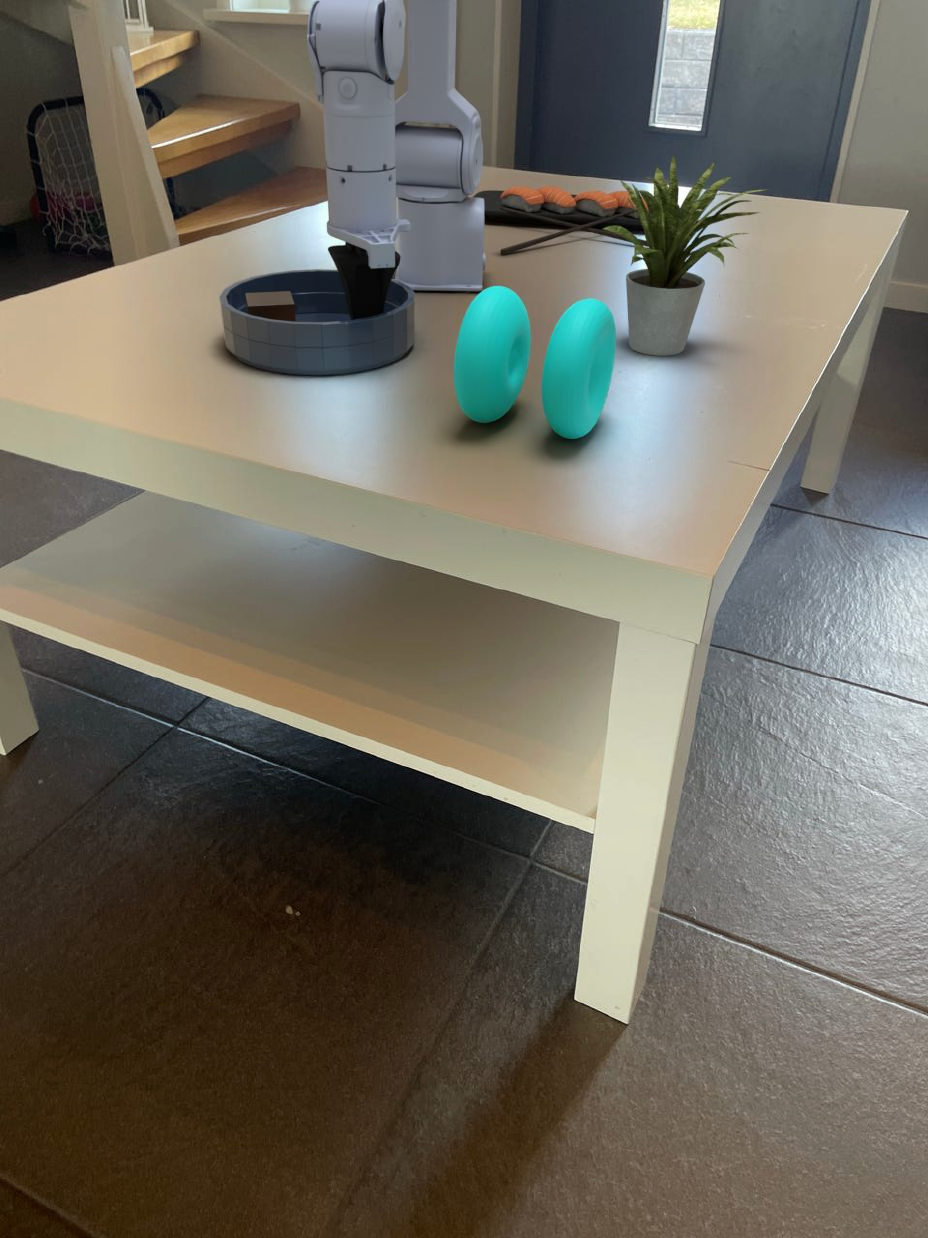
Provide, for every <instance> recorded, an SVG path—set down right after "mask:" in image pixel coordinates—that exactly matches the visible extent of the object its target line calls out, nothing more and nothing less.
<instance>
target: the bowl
mask: <svg viewBox="0 0 928 1238" xmlns="http://www.w3.org/2000/svg"><path fill="white" fill-rule="evenodd" d="M283 291H290V292H291V295H292V298H293V301H294V304H295V316H296V322H292V321H282V320H272V319H267V318H262V317H257V316H252V315H249V314H247V308H246V298H245V293H259V292H283ZM218 299H219V306H220V307H219V308H220V314H221V325H222V331H223V340H224V344H225V347H226V349H227V350H229V352H231V353H232V355H233V356H234V357H235V358H236V359H237V360H239V361H240V362H242V363H244V364H246V365H249V366H251V367H253V368H257V369H260V370H265V371H269V372H273V373H281V374H286V375H287V374H288V375H297V376H298V375H300V376H330V375H331V376H332V375H334V376H335V375H344V374H345V375H346V374H352V373H359V372H364V371H370V370H374V369H377V368H380V367H384V366H386V365H389V364H391V363H393V362H396V361H397V360H400V359H402V357H404V356H405V355H406V354H407V353H408V352H409V350H410V349H411V347H412V346H413V345H414V344H415V338H416V293H415V292H414V290H412V289H411V288H410V287H409V286H408V285H406V284H404V283H402V282H400V281H398V280H395V278H392V280H391V282H390V285H389V288H388V292H387V296H386V300H385V305H384V311H383V314H380V315H376V316H372V317H368V318H361V319H355V320H351V318H350V314H349V310H348V305H347V301H346V296H345V292H344V288H343V285H342V281H341V278H340V275H339V273H338V270H337V269H327V268H326V269H323V268H322V269H321V268H315V269H313V268H312V269H311V268H310V269H295V270H294V269H293V270H285V271H278V272H270V273H265V274H261V275H255V276H251V277H248V278H245V279H241V280H239V281H237V282H234V283H232V284H231V285H229V286H227V287H226V288H224V289H223V290H222V292H221V293H220V295H219V297H218Z"/></svg>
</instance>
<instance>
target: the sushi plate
mask: <svg viewBox="0 0 928 1238" xmlns="http://www.w3.org/2000/svg"><path fill="white" fill-rule="evenodd" d="M622 192H623V193H624V194H625V195H626V196H627V197H628V198H629V199H630V201H631V202H632V200H631V198H630V196H629V193H628V191H627V190H615V191H611V192H609V193H606V192H604V191H600V190H588V191H584V192H581V193H579V194H570V193H569V192H568V191H565V190H564V189H561V188H558V187H556V186H540V187H538V188H536V189H533V188H531V187H528V186H513V187H510V188H507V189H505V190H497V189H495V190H494V189H490V190H481V191H478V192H477V193H475V194H474V195H473V196H472V197H473V198H483V199H484V216H488V217H489V219H490V220H493V221H496V222H505V223H506V222H507V223H518V224H522V223H523V224H536V225H550V226H551V225H553V226H565V227H568V229H565V230H561V231H558V232H555V233H551V234H548V235H544V236H541V237H537V238H534V239H529V240H527V241H524V242H520V243H517V244H513V245H510V246H507V247H504V248H503V247H502V248H501V249H500V255H505V256H506V255H508V254H511V253H514V252H517V251H520V250H524V249H526V248H529V247H533V246H536V245H539V244H542V243H544V242H549V241H551V240H554V239H556V238H559V237H563V236H566V235H568V234H572V233H575V232H578V231H585V232H588V233H591V234H597V235H600V236H605V237H607V238H612V239H615V240H619V241H624V242H627V243H631V244H633V243H632V242H631V241H630V240H628V239H626V238H625V237H623V236H621V235H619V234H616V233H614V232H611V231H607V230H603V228H606V227H608V226H621V227H623V228H625V229H627V230H631V231H644V229H643V226H642V224H641V221H640V219H639V218H638V216H637V214H636V212H635V211H634V209H633V208H632V206H631V204H630V202H629V200H628V199H627V198H626V196H625V195H624V194H623V193H622ZM641 197H642V196H641ZM642 200H643V202H644V204H645V206H646V208H647V211H648V214H649V217H650V220H651V216H650V213H649V209H648V207H647V204H646V202H645V200H644V199H643V197H642ZM632 204H633V202H632ZM633 206H634V208H635V210H636V211H637V213H638V214H639V212H638V210H637V209H636V207H635V205H634V204H633ZM680 207H681V206H680V205H679V204H678V209H677V213H678V211H679V209H680ZM639 216H640V214H639ZM640 218H641V216H640ZM651 224H652V220H651ZM569 227H570V228H569ZM598 228H599V229H598ZM637 239H638V240H639V241H640V242H641V244H642V245H643V247H646V248H649V246H648V244H647V241H646V239H641V238H637Z"/></svg>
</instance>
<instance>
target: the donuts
mask: <svg viewBox="0 0 928 1238" xmlns="http://www.w3.org/2000/svg"><path fill="white" fill-rule="evenodd" d="M531 333H532V332H531V324H530V318H529V314H528V311H527V308H526V306H525V304H524V302H523V300H522V298H521V297H520V296H519V295H518V294H517V293H516V292H515V291H514V290H512V289H510V288H509V287H506V286H504V285H503V286H502V285H493V286H492V285H491V286H489V287H487V288H485V289H482V291H480V292H479V293H478V294H477V295H476V296H475V297H474V299H472V300H471V303H470V304H469V305H468V308H467V309H466V312H465V314H464V316H463V319H462V321H461V325H460V328H459V332H458V333H457V334H458V335H457V340H456V344H455V349H454V350H455V352H454V357H453V385H454V392H455V396H456V400H457V403H458V405H459V407H460V409H461V410H462V412H463V413H464V414H465V416H466V417H468V418H469V419H470V420H472V421H473V422H477V423H482V424H487V423H491V422H495V421H498V420H499V419H501V418H503V416H505V415H506V414H507V413H508V412H509V411H510V410H511V408H512V407H513V405H514V404H515V403H516V401H517V399H518V398H519V395H520V393H521V391H522V388H523V386H524V383H525V380H526V376H527V373H528V367H529V363H530V357H531V356H530V355H531V348H532V347H531V346H532V345H531V344H532V335H531ZM616 347H617V329H616V323H615V318H614V315H613V313H612V311H611V310H610V308H609V307H608V305H607V304H606V303H605V302H603V301H602V300H599V299H597V298H593V297H592V298H591V297H590V298H589V297H588V298H583V299H580V300H578V301H576V302H575V303H573V304H571V305H570V307H568V308H567V309H566V310H565V311H564V312H563V313H562V315H561V316H560V318H559V319H558V321H557V323H556V325H555V327H554V329H553V330H552V333H551V336H550V338H549V342H548V345H547V349H546V352H545V357H544V362H543V366H542V367H543V368H542V374H541V375H542V376H541V401H542V408H543V413H544V416H545V419H546V422H547V423H548V425H549V427H550V428H551V429H552V430H553V432H555V433H556V434H557V435H559V436H560V437H562V438H565V439H568V440H575V439H576V440H577V439H579V438H582V437H584V436H586V435H587V434H589V433H590V432H591V431H592V430H593V428H594V427H595V426H596V424H597V423H598V421H599V419H600V416H602V412H603V409H604V408H605V407H604V406H605V404H606V401H607V398H608V394H609V390H610V386H611V382H612V378H613V377H612V376H613V372H614V366H615V358H616V357H615V356H616Z"/></svg>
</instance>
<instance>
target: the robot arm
mask: <svg viewBox="0 0 928 1238" xmlns="http://www.w3.org/2000/svg"><path fill="white" fill-rule="evenodd" d="M457 3H458V2H457V0H407V11H406V7H405V4H404V0H314V1H313V2H312V3H311V6H310V8H309V11H308V17H307V30H306V31H307V36H306V45H307V53H308V59H309V62H310V63H309V64H310V66H311V69H312V72H313V77H314V83H315V84H314V85H315V96H316V100H317V102H318V103H320V104H322V112H323V113H322V114H323V115H322V117H323V137H324V157H325V174H326V175H325V177H326V193H327V212H328V213H327V214H328V220H327V221H326V233H327V235H328V236H330V237H332V238H335V239H337V240H340V241H343V242H344V244H338V245H337V244H336V245H330V246H328V247H327V252H328V254H329V255H330V257H331V259H332V261H333V263H334V265H335V268H336V270H338V273H339V275H340V278H341V281H342V285H343V288H344V292H345V296H346V301H347V305H348V310H349V314H350V318H351V320H355V319H361V318H368V317H372V316H376V315H380V314H383V311H384V305H385V300H386V296H387V292H388V288H389V285H390V282H391V280H392V279H393V277H394V279H395V280H398V281H400V282H402V283H404V284H406V285H408V286H409V287H410V288H411V289H412V290H413V291H434V292H435V291H436V292H437V291H438V292H439V291H440V292H482V291H483V290H484V289H483V282H484V281H483V279H484V278H483V276H484V271H485V272H486V262H487V261H486V252H484V250H485V249H484V245H485V214H484V199H483V198H473V196H472V195H473V194H474V193H475V192H476V191H477V189H478V188H479V186H480V184H481V181H482V180H481V179H482V174H483V165H484V145H483V144H484V143H483V138H482V118H481V116H480V112H479V111H478V110H477V109H476V107H474V105H472V104H471V102H469V101H468V100H467V99H466V98H465V97H464V96H463V95H461V94H460V93H459V91H458V90H457V89H456V52H457V51H456V50H457V49H456V47H457V46H456V45H457V5H458V4H457ZM406 12H407V13H406ZM406 20H407V21H406ZM406 22H407V91H406V92H405V93H403V94H402V95H401V96H400V97H398V99H396V98H395V97H396V94H395V93H396V92H395V89H396V88H395V86H396V85H395V81H396V80H398V79H399V77H400V74H401V72H402V71H401V70H402V68H403V64H404V58H405V57H404V56H405V33H406V32H405V30H406ZM407 123H423V124H438V125H439V124H442V125H451V126H454V127H446V126H432V125H431V126H429V125H427V126H426V125H413V124H407ZM397 238H398V241H397V242H398V252H397V251H396V243H395V242H396V240H397Z"/></svg>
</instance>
